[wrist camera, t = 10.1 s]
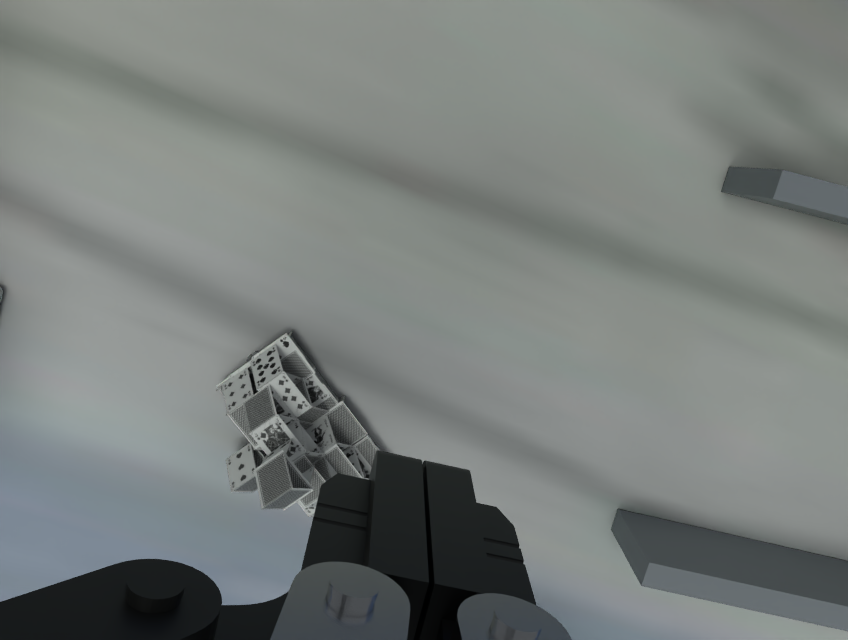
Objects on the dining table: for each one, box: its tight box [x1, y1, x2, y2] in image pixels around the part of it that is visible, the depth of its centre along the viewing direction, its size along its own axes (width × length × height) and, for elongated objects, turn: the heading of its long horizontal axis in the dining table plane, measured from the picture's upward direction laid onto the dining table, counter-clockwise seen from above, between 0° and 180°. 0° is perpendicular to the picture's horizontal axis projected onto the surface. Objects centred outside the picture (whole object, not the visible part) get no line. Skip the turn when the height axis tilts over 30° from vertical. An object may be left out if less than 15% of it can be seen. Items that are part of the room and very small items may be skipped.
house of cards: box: [216, 331, 381, 517], centre depth 30 cm, size 9×9×8 cm
